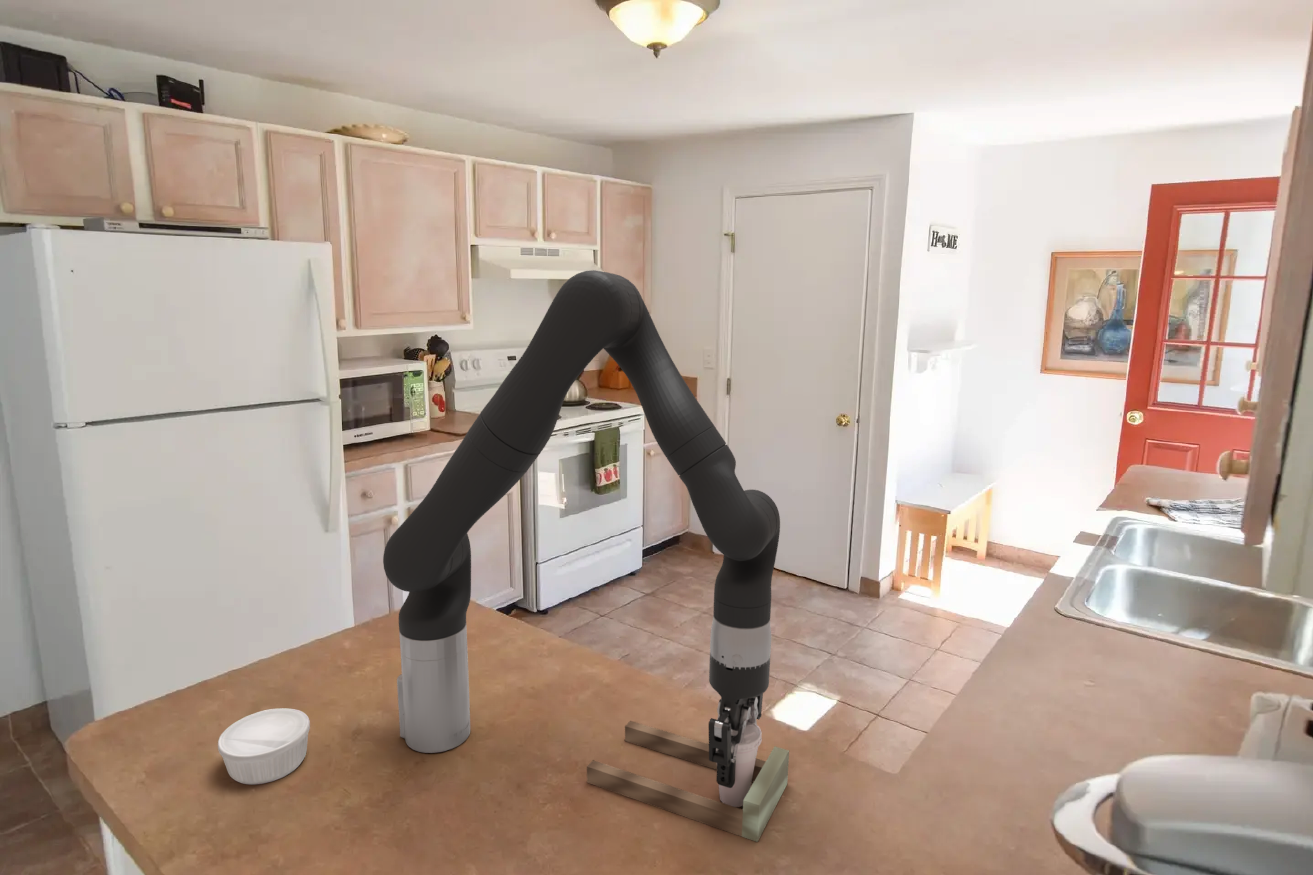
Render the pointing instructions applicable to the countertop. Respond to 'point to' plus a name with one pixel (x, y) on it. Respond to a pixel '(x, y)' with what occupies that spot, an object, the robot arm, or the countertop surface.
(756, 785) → the guide channel
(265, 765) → the ramekin
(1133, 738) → the countertop surface
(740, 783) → the smoothie
